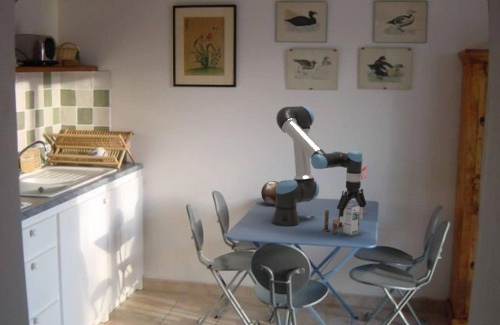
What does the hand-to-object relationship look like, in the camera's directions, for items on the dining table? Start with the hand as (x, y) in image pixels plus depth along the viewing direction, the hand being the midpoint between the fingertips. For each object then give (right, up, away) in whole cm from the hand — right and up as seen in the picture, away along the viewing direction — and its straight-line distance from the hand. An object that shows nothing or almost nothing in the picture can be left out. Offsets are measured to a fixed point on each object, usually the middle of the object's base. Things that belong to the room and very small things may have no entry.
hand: (350, 220), depth 312 cm
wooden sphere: (-38, +4, +65) cm, 76 cm away
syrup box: (0, -7, +1) cm, 7 cm away
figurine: (+8, -1, +44) cm, 45 cm away
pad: (0, -7, +1) cm, 7 cm away
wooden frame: (-6, -6, +8) cm, 11 cm away
